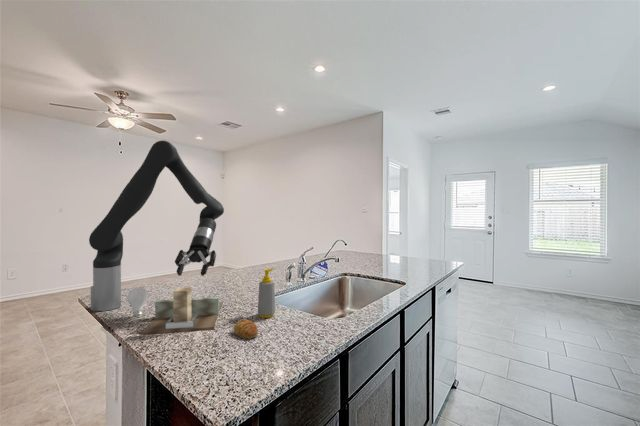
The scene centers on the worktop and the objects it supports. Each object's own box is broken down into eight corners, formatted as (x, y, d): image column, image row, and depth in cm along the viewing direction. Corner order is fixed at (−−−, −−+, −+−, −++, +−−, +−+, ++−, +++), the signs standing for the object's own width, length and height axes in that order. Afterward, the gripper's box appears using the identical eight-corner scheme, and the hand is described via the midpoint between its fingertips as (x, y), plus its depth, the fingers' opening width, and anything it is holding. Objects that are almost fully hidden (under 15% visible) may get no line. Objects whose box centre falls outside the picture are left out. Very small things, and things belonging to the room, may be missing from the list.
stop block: (173, 326, 98) (173, 291, 98) (178, 321, 102) (178, 287, 102) (187, 325, 98) (187, 291, 98) (191, 320, 103) (191, 287, 103)
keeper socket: (165, 329, 95) (165, 323, 95) (173, 319, 103) (173, 314, 103) (193, 327, 97) (193, 321, 97) (198, 318, 105) (198, 312, 105)
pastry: (263, 336, 94) (263, 324, 94) (244, 342, 89) (244, 330, 89) (249, 327, 101) (249, 316, 100) (231, 332, 96) (231, 321, 96)
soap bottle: (279, 315, 111) (279, 269, 111) (264, 320, 106) (264, 272, 106) (268, 310, 116) (268, 266, 116) (253, 315, 111) (254, 269, 111)
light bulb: (151, 315, 111) (151, 286, 110) (134, 321, 105) (134, 291, 104) (140, 312, 113) (140, 284, 113) (123, 318, 107) (123, 288, 107)
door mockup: (142, 335, 93) (142, 313, 93) (167, 307, 118) (167, 291, 118) (213, 329, 98) (213, 309, 98) (223, 304, 123) (223, 288, 123)
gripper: (182, 234, 115) (167, 268, 104) (217, 234, 116) (207, 269, 104) (187, 245, 121) (174, 279, 109) (221, 246, 121) (212, 280, 110)
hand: (190, 274), depth 107 cm, fingers open, 8 cm apart
